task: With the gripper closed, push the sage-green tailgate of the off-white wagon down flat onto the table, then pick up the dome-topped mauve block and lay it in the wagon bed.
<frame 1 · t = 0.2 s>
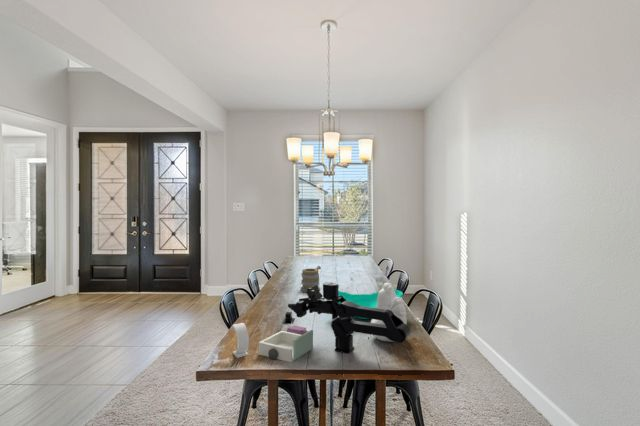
hand: (293, 302, 178), 17 cm above the table, tool horizontal, fingers open, 9 cm apart
wagon bed: (286, 351, 164), on the table
table top decor: (365, 317, 210), on the table
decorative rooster: (389, 341, 176), on the table
dark piece: (288, 322, 205), on the table
tailgate: (303, 344, 160), point 5 cm above the table, hinge at 0.0°
dome-topped mauve block: (297, 337, 180), on the table
headphone stand: (240, 355, 161), on the table
tankard: (313, 289, 274), on the table
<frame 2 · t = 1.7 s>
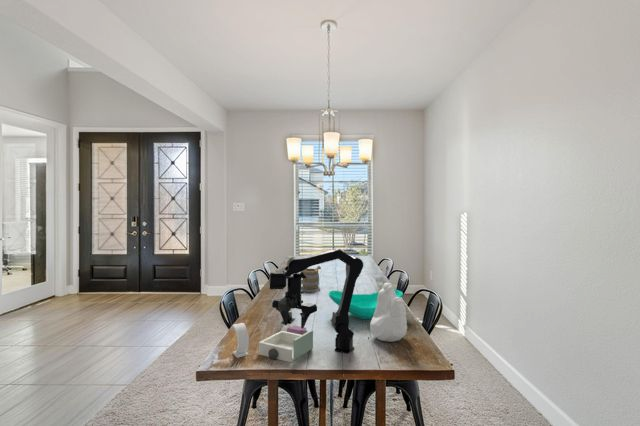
hand: (294, 326, 162), 11 cm above the table, tool pointing down, fingers open, 8 cm apart
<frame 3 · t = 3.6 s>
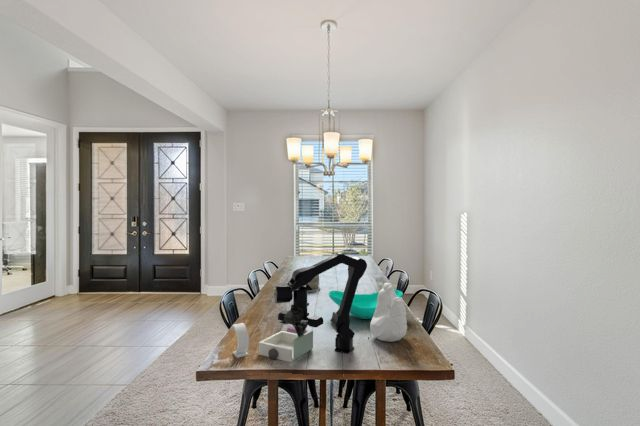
hand: (300, 339, 160), 6 cm above the table, tool pointing down, fingers closed
tailgate: (303, 344, 160), point 5 cm above the table, hinge at 0.2°, touching gripper
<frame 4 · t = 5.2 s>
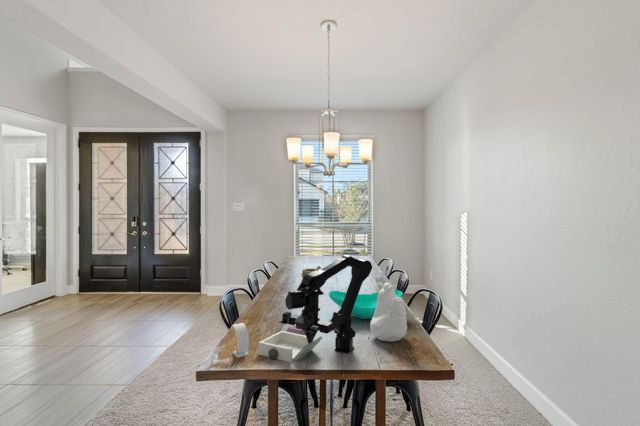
hand: (310, 344, 158), 5 cm above the table, tool pointing down, fingers closed, pressing on tailgate
tailgate: (308, 348, 159), point 4 cm above the table, hinge at 40.1°, touching gripper
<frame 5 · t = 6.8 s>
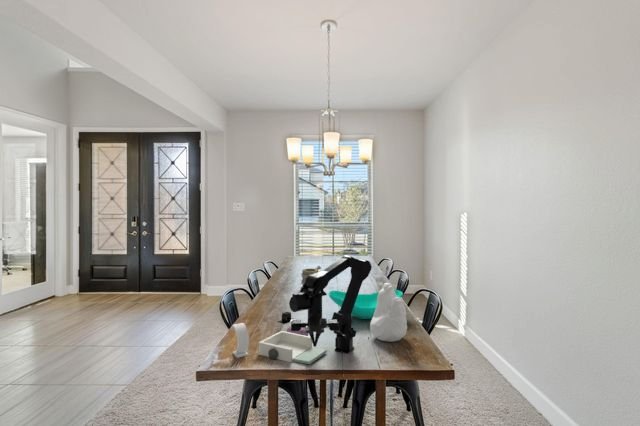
hand: (314, 346, 157), 5 cm above the table, tool pointing down, fingers closed
tailgate: (310, 355, 158), point 1 cm above the table, hinge at 85.9°
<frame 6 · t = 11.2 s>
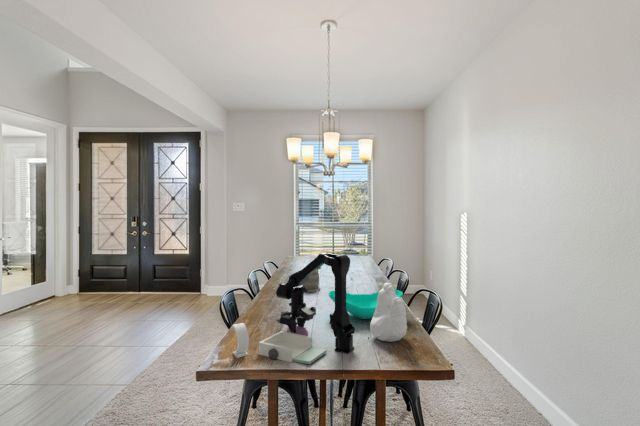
hand: (297, 334, 180), 1 cm above the table, tool pointing down, fingers closed on dome-topped mauve block, 4 cm apart
dome-topped mauve block: (297, 337, 180), on the table, touching gripper
when the fingers open (3 cm above the table, at t = 15.8 s): dome-topped mauve block drops 1 cm, resting on wagon bed.
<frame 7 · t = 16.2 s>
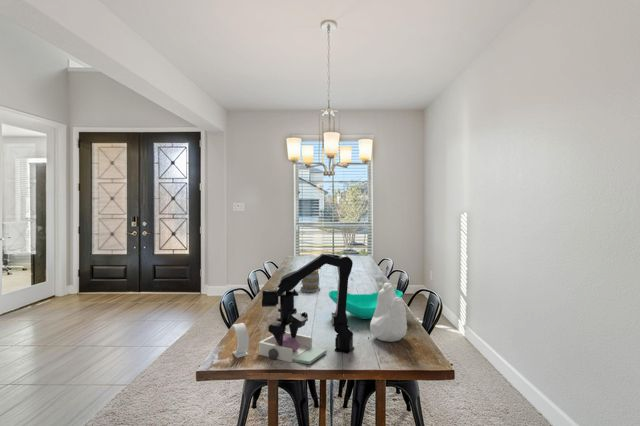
hand: (287, 343, 164), 3 cm above the table, tool pointing down, fingers open, 9 cm apart
dome-topped mauve block: (287, 349, 164), point 1 cm above the table, touching wagon bed
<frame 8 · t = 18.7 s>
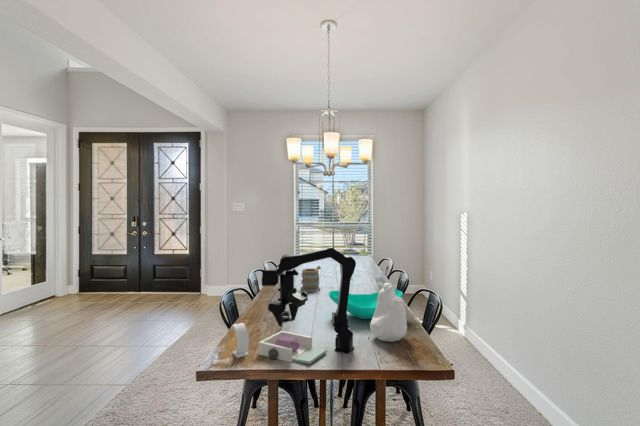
hand: (287, 323, 163), 12 cm above the table, tool pointing down, fingers open, 9 cm apart
at the end: tailgate at +86° (first picture: +0°); dome-topped mauve block inside the target area (0.5 cm from its centre), point 1.0 cm above the table; the gripper is holding nothing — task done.
